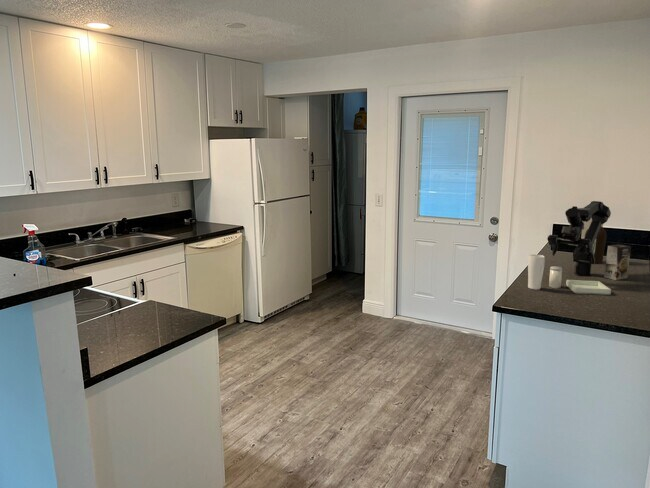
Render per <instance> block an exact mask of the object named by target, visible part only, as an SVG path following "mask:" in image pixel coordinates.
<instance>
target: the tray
mask: <svg viewBox="0 0 650 488" xmlns="http://www.w3.org/2000/svg"><path fill="white" fill-rule="evenodd" d="M565 283H566V284H565V285H566V286H567V287H568V288H569V289H570V290H572V292H573V293H575V294H582V295H597V296H598V295H601V296H611V293H612V289H611V288H610V287H608V286H607V285H605V284H604V283H602V282H601V281H599V280H578V279H577V280H576V279H566V282H565Z"/></svg>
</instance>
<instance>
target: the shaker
mask: <svg viewBox="0 0 650 488" xmlns="http://www.w3.org/2000/svg"><path fill="white" fill-rule="evenodd" d="M562 275H563V267H562V266H558V265H557V266H556V265H555V266H553V265H552V266H550V267H549V278H548V279H549V280H548V287H549V288H553V289H561V286H562V277H563V276H562Z"/></svg>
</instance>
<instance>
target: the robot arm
mask: <svg viewBox="0 0 650 488" xmlns="http://www.w3.org/2000/svg"><path fill="white" fill-rule="evenodd" d="M564 214H565V217H566V220H567V222H568V224H569V226H566V225H564V226H563V225H562V229H561V232H560V233H561V234H562V238H560V237H559V235H556V234H549V235H548V236H547V241H548V244H549V246H551V247H552V256H553V257H554V256H555V255H556V254H557V251H558V249H559V246H560V244H565V245H569V246H575V248H574V250H573V252H572V258H573V263H575V264H574V270H573V273H574V274H575V275H577V276H580V277H581V276H584V277H591V276H592V274H591V272H592V271H591V270H592V265H595V264H594V262H595V257H594V254H593V250H592V246H593V244H594V241H595V239H596V237H597V234H598V232H599V229H600V227H601V225H602V224H603V225H604V224H605V223H607V222H608V220H609V218H611V214H612V213H611V209H610V207H609V206H607V205H605V204H604V202H603V201H599V200H598V201H597V200H593V201H590V203H588V204H587V205H585V206H584V207H578V206H576V205H575V206H572V207H570V208H568V209H566V210H565V212H564ZM591 218H592V222H591V224H590V226H589V229H588V231H587V233H586V236H585V238H584V239H581V235H582V229H584V222H588V221H589V220H590V219H591ZM583 221H584V222H583ZM579 239H580V240H579Z"/></svg>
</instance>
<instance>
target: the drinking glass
mask: <svg viewBox="0 0 650 488" xmlns="http://www.w3.org/2000/svg"><path fill="white" fill-rule="evenodd" d="M545 263H546V256H544V255H543V254H529V255H528V261H527V272H528V273H527V275H528V276H527V288H528V289H530V290H535V291H536V290H541V288H542V281H543V275H544V269H545Z"/></svg>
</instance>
